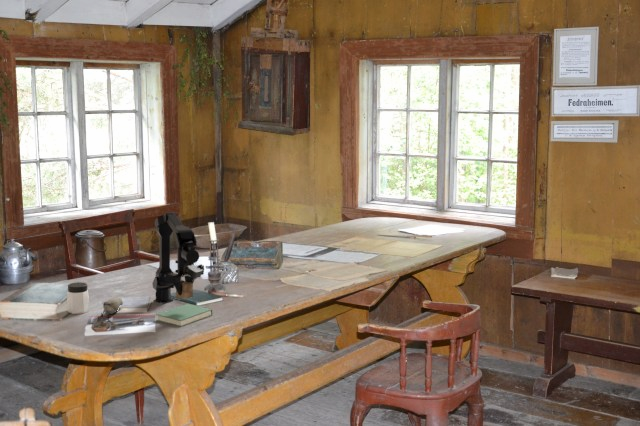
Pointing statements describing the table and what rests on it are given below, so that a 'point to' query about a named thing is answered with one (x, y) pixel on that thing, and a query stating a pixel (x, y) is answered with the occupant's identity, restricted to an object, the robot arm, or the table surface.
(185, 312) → the green book
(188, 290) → the walnut block
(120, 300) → the decorative bird
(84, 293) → the jar
